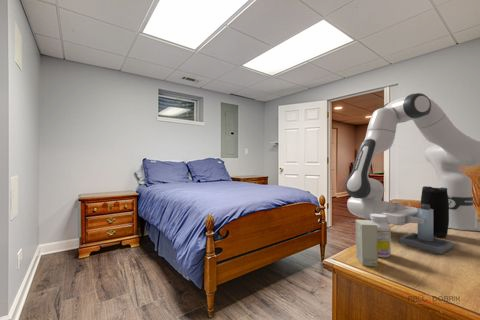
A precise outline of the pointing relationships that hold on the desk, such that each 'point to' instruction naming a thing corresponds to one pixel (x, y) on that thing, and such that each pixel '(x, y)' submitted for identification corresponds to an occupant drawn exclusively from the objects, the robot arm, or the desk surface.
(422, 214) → the blue bottle
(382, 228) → the supplement bottle
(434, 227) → the portable speaker
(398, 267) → the desk surface
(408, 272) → the desk surface
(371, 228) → the skincare box
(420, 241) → the box
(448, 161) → the robot arm
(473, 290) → the desk surface
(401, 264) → the desk surface
